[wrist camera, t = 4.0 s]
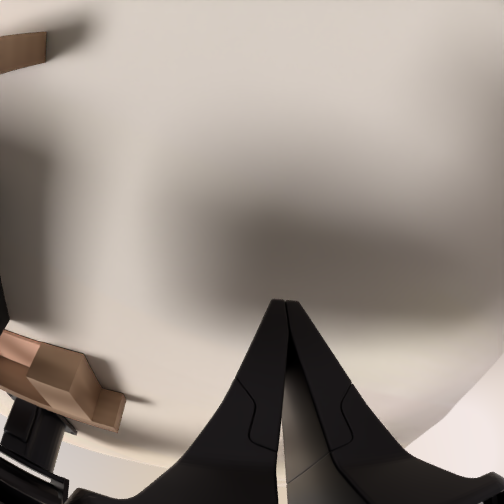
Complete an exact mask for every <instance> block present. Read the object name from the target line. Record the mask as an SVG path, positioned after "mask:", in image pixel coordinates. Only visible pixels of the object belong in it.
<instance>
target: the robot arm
mask: <svg viewBox="0 0 504 504" xmlns="http://www.w3.org/2000/svg"><path fill="white" fill-rule="evenodd" d="M351 383H352V382H351V380H350V379H349V377H348V376H347V374H346V372H345V371H344V369H343V368H342V366H341V365H340V363H339V362H338V360H337V359H336V357H335V356H334V354H333V353H332V351H331V350H330V348H329V347H328V345H327V344H326V342H325V340H324V339H323V337H322V336H321V334H320V333H319V331H318V330H317V328H316V327H315V325H314V324H313V322H312V321H311V319H310V318H309V316H308V315H307V313H306V312H305V310H304V309H303V307H302V306H301V304H300V303H299V302H298V301H292V300H286V301H284V300H282V299H272V300H271V302H270V304H269V306H268V308H267V311H266V313H265V315H264V317H263V319H262V321H261V324H260V326H259V328H258V330H257V332H256V334H255V336H254V339H253V341H252V343H251V345H250V347H249V349H248V351H247V353H246V356H245V358H244V360H243V362H242V364H241V366H240V368H239V370H238V372H237V374H236V376H235V379H234V380H233V382H232V384H231V386H230V388H229V390H228V392H227V394H226V396H225V398H224V400H223V401H222V403H221V405H220V406H219V408H218V409H217V411H216V412H215V414H214V415H213V417H212V418H211V419H210V421H209V422H208V423H207V425H206V426H205V428H204V429H203V430H202V432H201V433H200V434H199V436H198V437H197V438H196V440H195V441H194V442H193V444H192V445H191V446H190V448H189V449H188V450H187V451H186V452H185V454H184V455H183V456H182V457H181V458H180V459H179V460H178V461H177V462H176V463H175V464H174V465H173V466H172V467H170V468H169V469H168V470H167V471H166V472H165V473H163V474H162V475H161V476H160V477H159V478H157V479H156V480H155V481H154V482H153V483H151V484H150V485H149V486H148V487H146V488H145V489H144V490H143V491H141V492H140V493H139V494H137V495H136V496H134V497H131V498H128V499H115V498H111V497H108V496H105V495H101V494H98V493H95V492H92V491H89V490H86V489H82V488H77V489H76V490H75V491H74V492H73V494H72V495H71V496H70V497H69V498H68V489H69V480H68V479H66V478H63V477H60V476H57V475H55V474H53V470H54V467H55V463H56V459H57V456H58V452H59V449H60V445H61V442H62V438H63V435H64V432H68V433H71V434H73V435H77V431H76V430H75V429H74V428H73V427H72V426H71V425H70V424H69V423H68V422H67V421H66V420H65V419H64V417H63V416H62V415H60V414H57V413H54V412H52V411H49V410H47V409H44V408H42V407H39V406H37V405H34V404H32V403H30V402H27V401H25V400H23V399H21V398H18V397H16V396H14V395H12V394H10V393H8V392H7V394H8V395H9V396H10V397H11V398H12V399H13V400H14V404H13V406H12V409H11V411H10V414H9V416H8V419H7V422H6V424H5V427H4V434H3V437H2V440H1V443H0V444H1V445H2V446H1V445H0V452H1V453H3V454H4V455H6V456H8V457H9V458H11V459H13V460H14V461H16V462H18V463H20V464H22V465H24V466H26V467H27V468H29V469H31V470H33V471H35V472H37V473H39V474H41V475H43V476H45V477H47V478H49V479H51V482H50V483H49V482H47V481H44V480H42V479H40V478H38V477H36V476H34V475H32V474H30V473H28V472H27V471H25V470H23V469H21V468H19V467H17V466H15V465H14V464H12V463H10V462H8V461H7V460H5V459H3V458H2V457H0V504H278V491H277V477H276V464H277V452H278V446H279V437H280V428H281V418H282V428H283V441H284V455H285V469H286V483H287V499H288V504H504V478H503V477H501V476H500V475H498V474H496V473H495V472H490V473H488V474H485V475H483V476H481V477H478V478H466V477H462V476H459V475H456V474H454V473H451V472H449V471H446V470H444V469H441V468H439V467H436V466H434V465H431V464H429V463H426V462H424V461H422V460H420V459H418V458H416V457H414V456H412V455H411V454H409V453H408V452H407V451H405V449H403V448H402V446H401V445H400V444H399V443H398V442H397V441H396V440H395V438H394V437H393V436H392V435H391V434H390V432H389V431H388V430H387V429H386V428H385V426H384V425H383V424H382V423H381V422H380V420H379V419H378V418H377V417H376V415H375V414H374V413H373V412H372V410H371V409H370V408H369V407H368V405H367V404H366V402H365V401H364V399H363V398H362V397H361V395H360V394H359V392H358V391H357V389H356V388H355V386H354V385H353V384H351Z"/></svg>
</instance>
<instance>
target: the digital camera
mask: <svg viewBox="0 0 504 504" xmlns="http://www.w3.org/2000/svg"><path fill="white" fill-rule="evenodd" d="M9 320H10V319H9V315H8V311H7V307H6V302H5V298H4V293H3V288H2V283H1V278H0V336H1V334H2V332H3V330H4V329H5V327H6V325H7V324H8V322H9Z"/></svg>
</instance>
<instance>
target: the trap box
mask: <svg viewBox="0 0 504 504" xmlns="http://www.w3.org/2000/svg"><path fill="white" fill-rule="evenodd" d="M46 33H47V32H35V33H24V34H16V35H8V36H1V37H0V74H3V73H6V72H10V71H13V70H17V69H20V68H24V67H28V66H32V65H36V64H41V63H45V54H46ZM0 389H2V390H4V391H6V392H8V393H10V394H12V395H14V396H16V397H18V398H21V399H23V400H25V401H27V402H30V403H32V404H34V405H37V406H39V407H42V408H44V409H47V410H49V411H52V412H54V413H57V414H60V415H62V416H65V417H68V418H71V419H74V420H77V421H80V422H83V423H86V424H89V425H92V426H95V427H99V428H102V429H106V430H109V431H113V432H116V433H118V430H119V426H120V422H121V418H122V414H123V411H124V407H125V403H126V399H125V397H124V395H123V393H118V392H114V391H110V390H106V389H102V387H101V386H100V384H99V382H98V380H97V379H96V377H95V375H94V373H93V371H92V369H91V367H90V365H89V364H88V362H87V360H86V358H85V356H84V354H81V353H77V352H74V351H70V350H67V349H63V348H60V347H56V346H53V345H50V344H46V343H43V342H42V343H41V342H38V341H35V340H32V339H29V338H26V337H23V336H20V335H17V334H14V333H12V332H9V331H6V330H3V332H2V334H1V336H0Z"/></svg>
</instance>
